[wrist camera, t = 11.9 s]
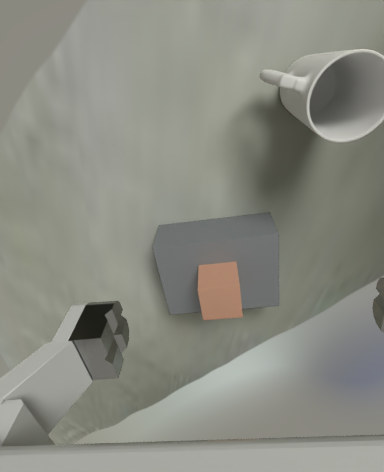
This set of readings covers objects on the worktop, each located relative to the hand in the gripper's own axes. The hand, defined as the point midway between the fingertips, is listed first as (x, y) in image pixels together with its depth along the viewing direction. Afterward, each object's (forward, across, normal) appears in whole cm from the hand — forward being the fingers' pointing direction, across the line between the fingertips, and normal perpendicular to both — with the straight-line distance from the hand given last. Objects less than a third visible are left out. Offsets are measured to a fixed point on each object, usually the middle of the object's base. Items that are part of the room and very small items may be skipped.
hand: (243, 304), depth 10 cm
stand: (+31, +2, +19) cm, 36 cm away
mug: (+31, -9, -3) cm, 33 cm away
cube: (+25, +2, +19) cm, 31 cm away
